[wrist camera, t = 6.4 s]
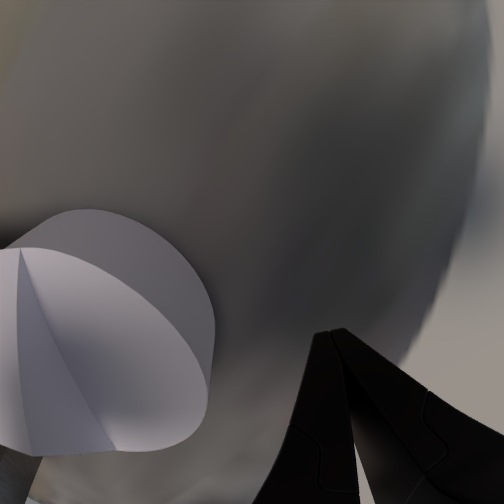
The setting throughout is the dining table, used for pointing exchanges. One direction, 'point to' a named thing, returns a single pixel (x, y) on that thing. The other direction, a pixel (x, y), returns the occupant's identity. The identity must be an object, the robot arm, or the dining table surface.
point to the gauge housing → (17, 476)
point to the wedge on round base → (100, 338)
